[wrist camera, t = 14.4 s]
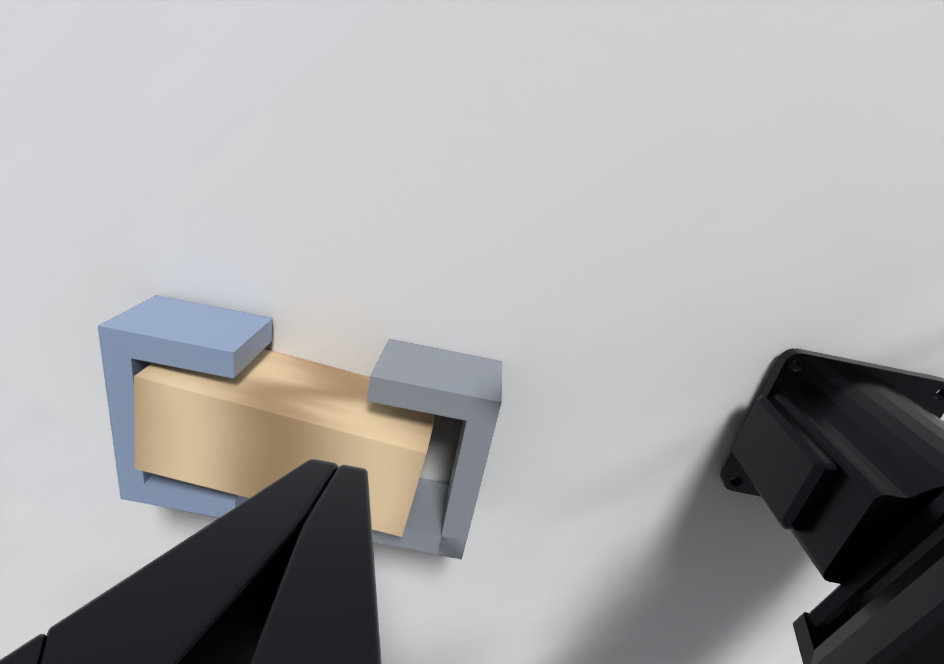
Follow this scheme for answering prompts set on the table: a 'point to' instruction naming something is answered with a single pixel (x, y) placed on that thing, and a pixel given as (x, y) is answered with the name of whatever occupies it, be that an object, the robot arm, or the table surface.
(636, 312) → the table surface
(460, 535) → the grey u channel
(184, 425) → the slat
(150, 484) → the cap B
